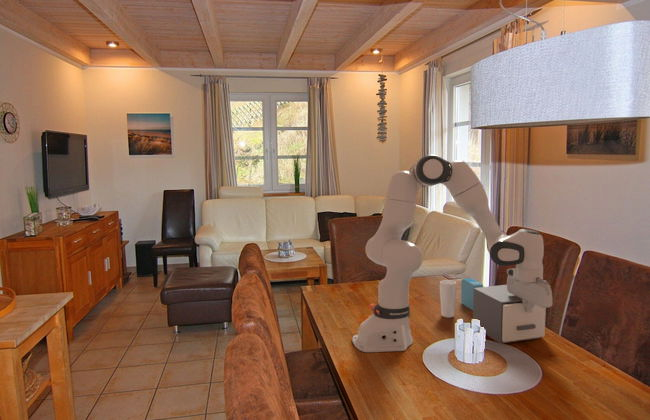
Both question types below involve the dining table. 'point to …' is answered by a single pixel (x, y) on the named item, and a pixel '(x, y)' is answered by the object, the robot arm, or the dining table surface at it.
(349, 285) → the dining table surface
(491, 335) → the cabinet
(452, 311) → the drinking glass
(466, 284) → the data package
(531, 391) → the dining table surface
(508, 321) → the drawer
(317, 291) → the dining table surface
